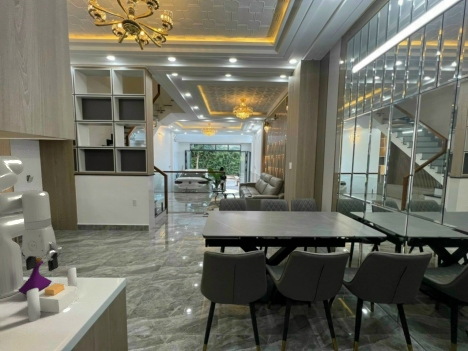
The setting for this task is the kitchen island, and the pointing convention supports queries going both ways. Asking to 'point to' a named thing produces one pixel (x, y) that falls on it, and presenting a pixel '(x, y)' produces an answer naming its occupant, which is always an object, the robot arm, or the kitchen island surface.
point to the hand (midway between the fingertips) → (42, 268)
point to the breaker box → (58, 299)
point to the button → (54, 289)
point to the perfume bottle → (35, 280)
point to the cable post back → (72, 277)
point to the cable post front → (33, 304)
